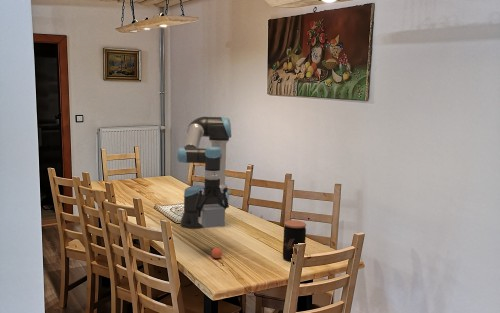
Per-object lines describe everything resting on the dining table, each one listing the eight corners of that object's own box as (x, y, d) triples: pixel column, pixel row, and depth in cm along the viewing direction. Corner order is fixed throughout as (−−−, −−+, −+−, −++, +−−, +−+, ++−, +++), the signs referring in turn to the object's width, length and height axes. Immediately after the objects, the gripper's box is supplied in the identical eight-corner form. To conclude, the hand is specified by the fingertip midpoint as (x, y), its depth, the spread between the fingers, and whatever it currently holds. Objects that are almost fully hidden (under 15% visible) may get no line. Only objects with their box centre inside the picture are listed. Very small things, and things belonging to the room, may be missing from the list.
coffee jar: (278, 258, 233) (279, 222, 231) (292, 253, 241) (293, 219, 238) (294, 264, 226) (296, 227, 223) (308, 259, 233) (310, 223, 231)
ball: (214, 254, 226) (212, 260, 229) (224, 253, 228) (222, 259, 231) (211, 246, 229) (209, 252, 232) (221, 245, 231) (219, 251, 234)
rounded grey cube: (198, 222, 238) (198, 205, 237) (217, 220, 242) (217, 203, 241) (204, 227, 229) (205, 209, 228) (224, 226, 233) (225, 208, 232)
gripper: (192, 180, 224) (191, 226, 227) (236, 178, 234) (235, 222, 237) (187, 178, 231) (186, 222, 234) (230, 176, 241) (229, 218, 244)
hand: (211, 222), depth 235 cm, fingers closed on rounded grey cube, 10 cm apart
